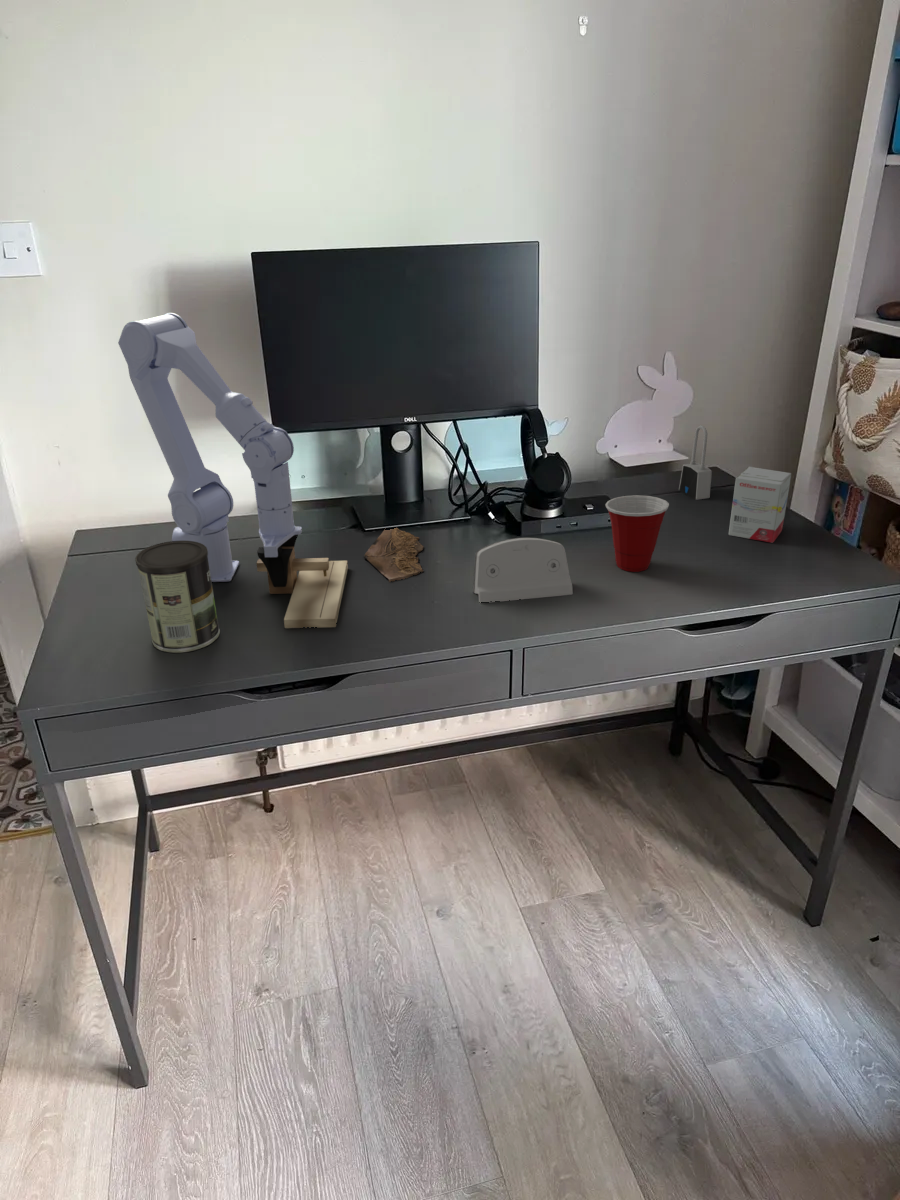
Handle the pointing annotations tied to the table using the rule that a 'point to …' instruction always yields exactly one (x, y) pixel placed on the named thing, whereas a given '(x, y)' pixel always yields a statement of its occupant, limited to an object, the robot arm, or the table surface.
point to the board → (317, 597)
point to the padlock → (696, 473)
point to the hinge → (521, 570)
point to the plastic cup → (635, 529)
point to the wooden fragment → (395, 554)
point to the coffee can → (178, 595)
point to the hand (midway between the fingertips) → (282, 578)
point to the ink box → (759, 504)
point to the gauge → (295, 570)
